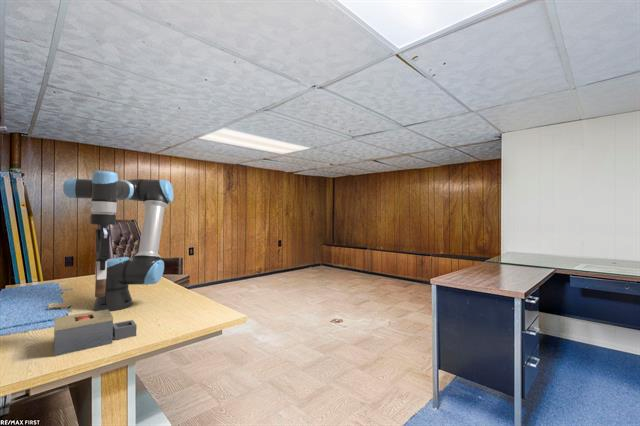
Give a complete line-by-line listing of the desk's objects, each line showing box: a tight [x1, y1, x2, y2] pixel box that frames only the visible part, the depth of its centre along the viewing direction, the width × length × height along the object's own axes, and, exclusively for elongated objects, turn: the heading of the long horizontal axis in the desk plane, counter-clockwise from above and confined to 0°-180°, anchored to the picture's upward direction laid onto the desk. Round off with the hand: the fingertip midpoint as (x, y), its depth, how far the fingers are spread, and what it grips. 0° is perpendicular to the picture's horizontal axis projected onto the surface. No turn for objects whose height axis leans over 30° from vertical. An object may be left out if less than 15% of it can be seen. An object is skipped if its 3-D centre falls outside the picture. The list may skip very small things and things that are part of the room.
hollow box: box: [53, 309, 114, 357], centre depth 103 cm, size 11×15×9 cm
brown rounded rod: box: [94, 252, 106, 298], centre depth 108 cm, size 3×3×16 cm
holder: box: [113, 319, 137, 341], centre depth 111 cm, size 7×7×4 cm
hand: (100, 278), depth 108 cm, fingers closed on brown rounded rod, 3 cm apart
